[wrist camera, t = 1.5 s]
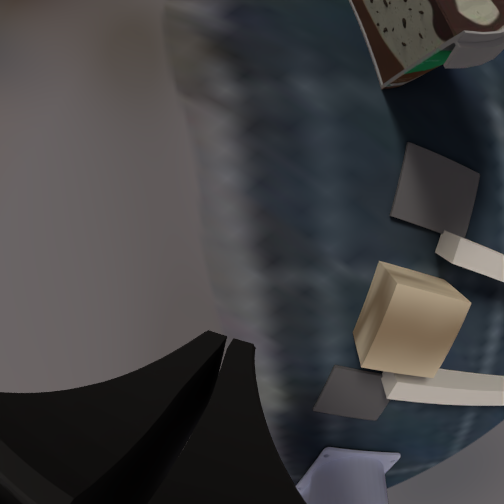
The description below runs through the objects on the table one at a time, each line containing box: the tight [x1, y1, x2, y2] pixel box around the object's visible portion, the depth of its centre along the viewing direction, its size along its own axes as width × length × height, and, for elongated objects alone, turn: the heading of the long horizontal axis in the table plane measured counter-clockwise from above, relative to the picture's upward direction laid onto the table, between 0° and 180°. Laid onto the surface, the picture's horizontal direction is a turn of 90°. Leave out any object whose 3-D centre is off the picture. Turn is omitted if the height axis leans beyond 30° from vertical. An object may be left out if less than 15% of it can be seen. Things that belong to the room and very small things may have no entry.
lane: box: [381, 230, 504, 406], centre depth 14 cm, size 11×16×2 cm, turn 77°
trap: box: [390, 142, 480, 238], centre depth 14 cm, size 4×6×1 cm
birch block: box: [353, 261, 471, 378], centre depth 15 cm, size 5×5×4 cm
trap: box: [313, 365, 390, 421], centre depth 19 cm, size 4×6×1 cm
